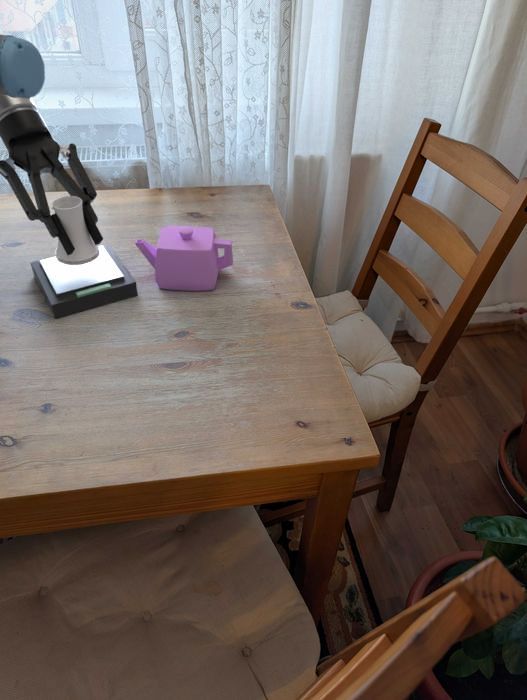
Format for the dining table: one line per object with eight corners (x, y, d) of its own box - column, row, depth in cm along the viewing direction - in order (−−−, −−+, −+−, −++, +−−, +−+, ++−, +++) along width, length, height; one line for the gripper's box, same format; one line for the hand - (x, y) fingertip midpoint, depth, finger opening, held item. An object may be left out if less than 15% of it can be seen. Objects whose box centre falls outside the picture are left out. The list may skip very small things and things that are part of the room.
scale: (55, 319, 90) (50, 302, 88) (34, 275, 100) (29, 259, 97) (138, 295, 96) (135, 279, 94) (110, 256, 106) (108, 240, 103)
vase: (55, 246, 95) (42, 194, 88) (97, 241, 97) (88, 190, 90) (56, 268, 90) (43, 215, 83) (101, 262, 92) (92, 210, 85)
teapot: (135, 290, 97) (128, 242, 90) (144, 260, 105) (138, 213, 98) (231, 294, 98) (232, 246, 91) (233, 263, 106) (234, 217, 99)
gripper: (62, 121, 95) (124, 238, 97) (-38, 143, 85) (32, 271, 88) (71, 97, 88) (136, 223, 91) (-37, 118, 79) (39, 257, 81)
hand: (85, 246), depth 89 cm, fingers closed on vase, 5 cm apart
